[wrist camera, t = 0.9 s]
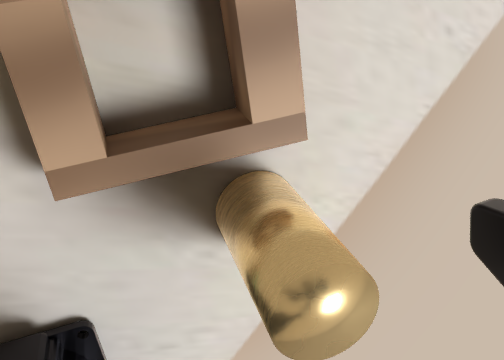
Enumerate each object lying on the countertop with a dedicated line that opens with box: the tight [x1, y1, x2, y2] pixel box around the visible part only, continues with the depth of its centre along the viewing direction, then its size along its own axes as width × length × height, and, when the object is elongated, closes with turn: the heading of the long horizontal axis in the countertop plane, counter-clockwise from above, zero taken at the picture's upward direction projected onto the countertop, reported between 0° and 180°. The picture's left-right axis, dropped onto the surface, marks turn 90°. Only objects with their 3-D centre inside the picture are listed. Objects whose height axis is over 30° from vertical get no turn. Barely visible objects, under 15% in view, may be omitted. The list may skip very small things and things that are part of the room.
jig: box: [0, 0, 308, 201], centre depth 18 cm, size 8×10×2 cm
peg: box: [216, 171, 379, 360], centre depth 19 cm, size 4×4×8 cm
